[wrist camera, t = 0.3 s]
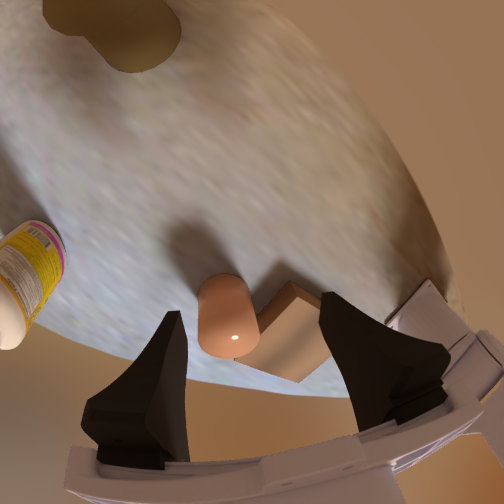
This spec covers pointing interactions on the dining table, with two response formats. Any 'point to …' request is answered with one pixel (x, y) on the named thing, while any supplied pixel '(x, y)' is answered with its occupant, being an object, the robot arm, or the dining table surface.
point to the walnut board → (289, 336)
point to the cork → (119, 29)
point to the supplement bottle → (27, 277)
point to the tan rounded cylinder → (226, 317)
